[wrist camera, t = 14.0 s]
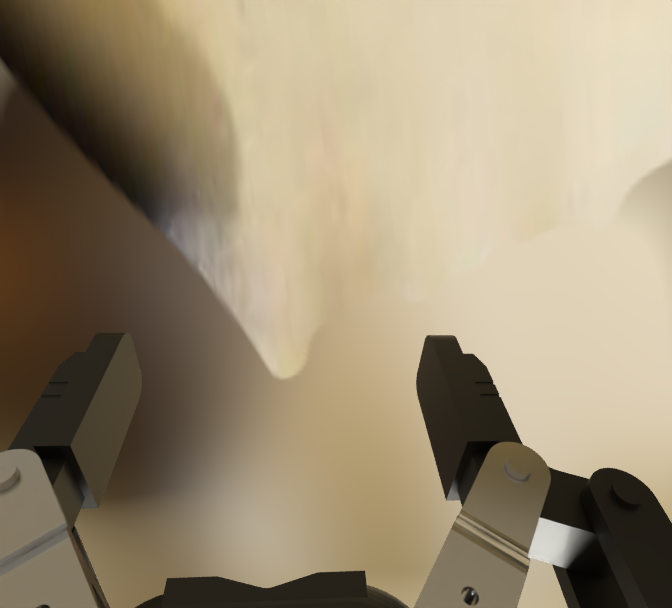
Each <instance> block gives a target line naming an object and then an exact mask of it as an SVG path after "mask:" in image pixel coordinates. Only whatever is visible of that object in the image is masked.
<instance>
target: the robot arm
mask: <svg viewBox="0 0 672 608" xmlns="http://www.w3.org/2000/svg"><path fill="white" fill-rule="evenodd" d="M416 386H417V395H418V399H419V403H420V406H421V410H422V413H423V417H424V421H425V424H426V428H427V432H428V435H429V439H430V442H431V446H432V450H433V453H434V457H435V461H436V465H437V468H438V472H439V476H440V479H441V483H442V487H443V490H444V494H445V498H446V500H460V501H461V504H462V509H461V511H460V513H459V515H458V516H457V518H456V520H455V522H454V524H453V526H452V528H451V530H450V532H449V534H448V536H447V538H446V541H445V543H444V545H443V547H442V549H441V551H440V553H439V555H438V558H437V560H436V562H435V564H434V566H433V568H432V570H431V572H430V574H429V576H428V579H427V581H426V583H425V585H424V587H423V589H422V592H421V593H420V595H419V598H418V600H417V602H416V604H415V606H414V608H517V605H518V602H519V599H520V595H521V592H522V589H523V586H524V582H525V579H526V576H527V572H528V569H529V564H530V559H529V558H528V557H531V558H534V559H537V560H540V561H543V562H546V563H550V564H552V565H553V568H554V570H555V573H556V576H557V579H558V581H559V584H560V586H561V590H562V592H563V595H564V598H565V600H566V603H567V606H568V608H672V523H671V521H670V520H669V518H668V516H667V515H666V513H665V511H664V510H663V508H662V506H661V505H660V503H659V502H658V500H657V498H656V497H655V495H654V494H653V492H652V491H651V490H650V489H649V488H648V487H647V486H646V485H645V484H644V483H643V482H642V481H640V480H639V479H637V478H636V477H634V476H633V475H631V474H629V473H627V472H624V471H622V470H618V469H613V468H603V469H599V470H597V471H596V472H594V473H593V474H592V476H591V478H590V479H587V478H583V477H580V476H576V475H572V474H568V473H565V472H561V471H558V470H554V469H552V468H550V467H548V466H547V464H546V463H545V461H544V460H543V459H542V458H541V456H539V455H538V454H537V453H536V452H535V451H533V450H532V449H530V448H529V447H527V446H524V445H523V444H522V442H521V440H520V438H519V436H518V434H517V432H516V429H515V427H514V425H513V423H512V421H511V419H510V416H509V414H508V412H507V410H506V408H505V406H504V403H503V401H502V399H501V397H499V393H498V391H497V389H496V386H495V385H493V380H492V378H491V376H490V373H489V372H488V369H487V367H486V366H485V365H484V364H483V363H482V362H481V361H480V360H479V359H478V358H477V357H476V356H475V355H474V354H463V353H462V350H461V348H460V346H459V343H458V341H457V339H456V337H455V336H453V335H428V336H427V337H426V338H425V342H424V346H423V351H422V355H421V359H420V364H419V368H418V372H417V380H416ZM141 388H142V375H141V371H140V367H139V363H138V359H137V356H136V352H135V348H134V344H133V341H132V338H131V335H130V334H129V333H97V334H96V335H95V336H94V338H93V340H92V341H91V343H90V345H89V347H88V349H87V350H86V352H75V353H74V354H73V355H71V356H70V357H69V358H68V359H67V360H65V361H64V362H63V363H62V364H60V365H59V366H58V368H57V369H56V371H55V373H54V374H53V376H52V378H51V380H50V381H49V385H47V386H46V388H45V389H44V391H43V393H42V395H41V399H38V401H37V403H36V404H35V406H34V407H33V409H32V411H31V412H30V414H29V416H28V417H27V419H26V421H25V422H24V424H23V426H22V427H21V429H20V431H19V432H18V434H17V435H16V437H15V439H14V440H13V442H12V444H11V445H10V447H9V448H8V450H7V451H5V452H1V453H0V608H111V607H110V606H109V603H108V601H107V599H106V597H105V595H104V592H103V590H102V588H101V586H100V583H99V581H98V579H97V576H96V574H95V571H94V569H93V567H92V564H91V562H90V559H89V557H88V554H87V552H86V550H85V547H84V545H83V543H82V540H81V538H80V535H79V533H78V531H77V528H76V526H75V521H76V519H77V516H78V514H79V512H80V509H81V508H98V507H99V505H100V502H101V499H102V496H103V494H104V491H105V489H106V486H107V483H108V481H109V478H110V475H111V473H112V470H113V467H114V464H115V462H116V459H117V457H118V454H119V451H120V448H121V446H122V443H123V440H124V438H125V435H126V433H127V430H128V427H129V425H130V422H131V419H132V416H133V413H134V411H135V408H136V406H137V403H138V400H139V398H140V394H141ZM135 608H409V607H408V606H407V605H405V604H404V603H402V602H401V601H400V600H399V599H397V598H396V597H394V596H392V595H390V594H388V593H387V592H385V591H382V590H379V589H377V588H375V587H371V586H367V585H366V577H365V571H346V572H320V573H315V574H312V575H309V576H306V577H303V578H299V579H297V580H293V581H290V582H287V583H284V584H281V585H278V586H275V587H272V588H261V587H257V586H253V585H249V584H245V583H241V582H237V581H233V580H229V579H225V578H221V577H190V578H167V581H166V586H165V590H164V594H163V595H159V596H156V597H154V598H152V599H150V600H148V601H146V602H143V603H142V604H140V605H138V606H137V607H135Z"/></svg>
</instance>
